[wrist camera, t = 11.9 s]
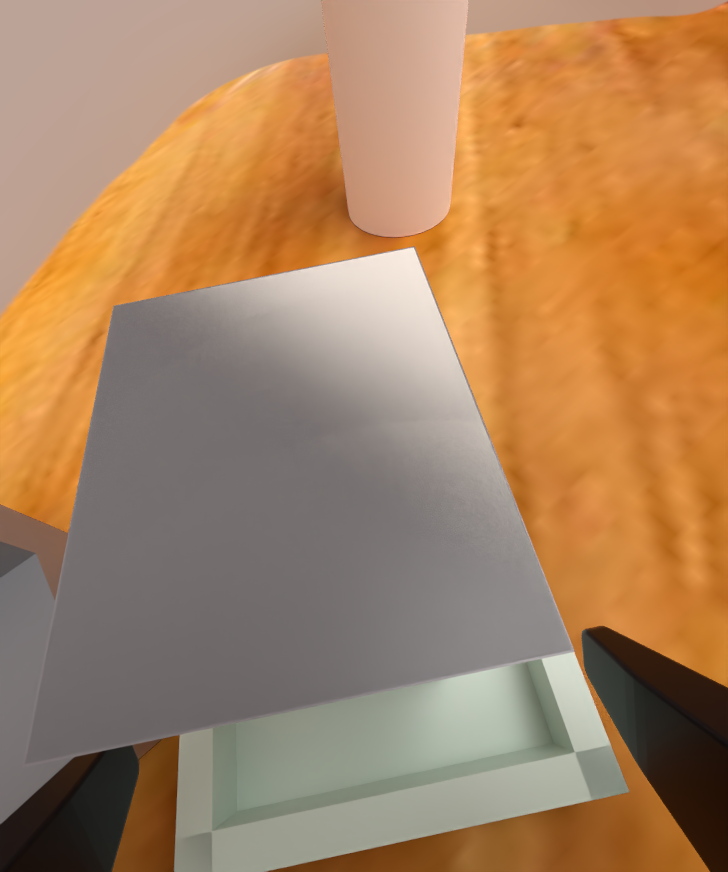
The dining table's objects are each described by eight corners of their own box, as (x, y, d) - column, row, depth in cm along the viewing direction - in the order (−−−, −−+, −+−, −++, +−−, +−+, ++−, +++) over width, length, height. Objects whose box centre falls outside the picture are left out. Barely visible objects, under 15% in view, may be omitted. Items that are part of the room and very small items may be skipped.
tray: (592, 772, 13) (629, 792, 11) (213, 855, 13) (173, 891, 11) (465, 426, 19) (472, 395, 17) (215, 478, 19) (191, 453, 17)
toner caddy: (452, 670, 14) (574, 652, 4) (307, 700, 14) (22, 767, 4) (410, 505, 17) (414, 246, 7) (291, 530, 17) (113, 306, 7)
